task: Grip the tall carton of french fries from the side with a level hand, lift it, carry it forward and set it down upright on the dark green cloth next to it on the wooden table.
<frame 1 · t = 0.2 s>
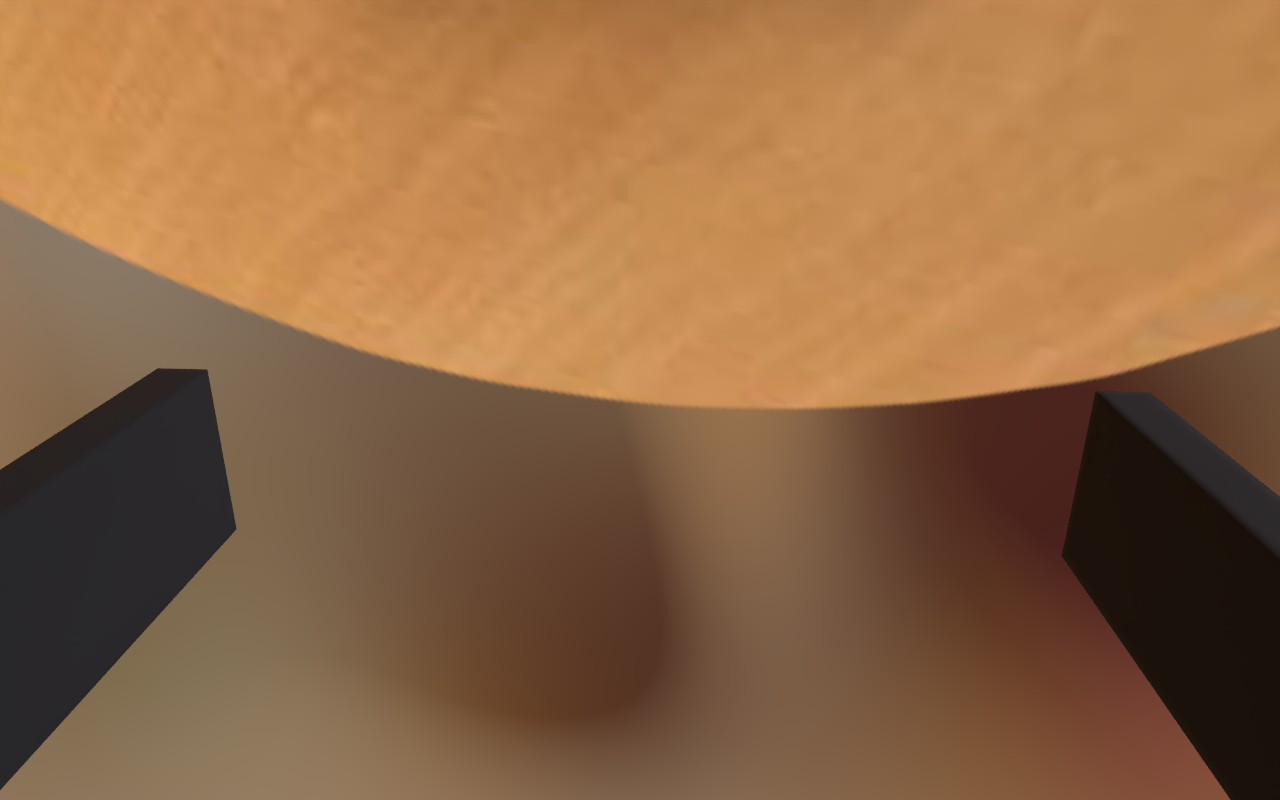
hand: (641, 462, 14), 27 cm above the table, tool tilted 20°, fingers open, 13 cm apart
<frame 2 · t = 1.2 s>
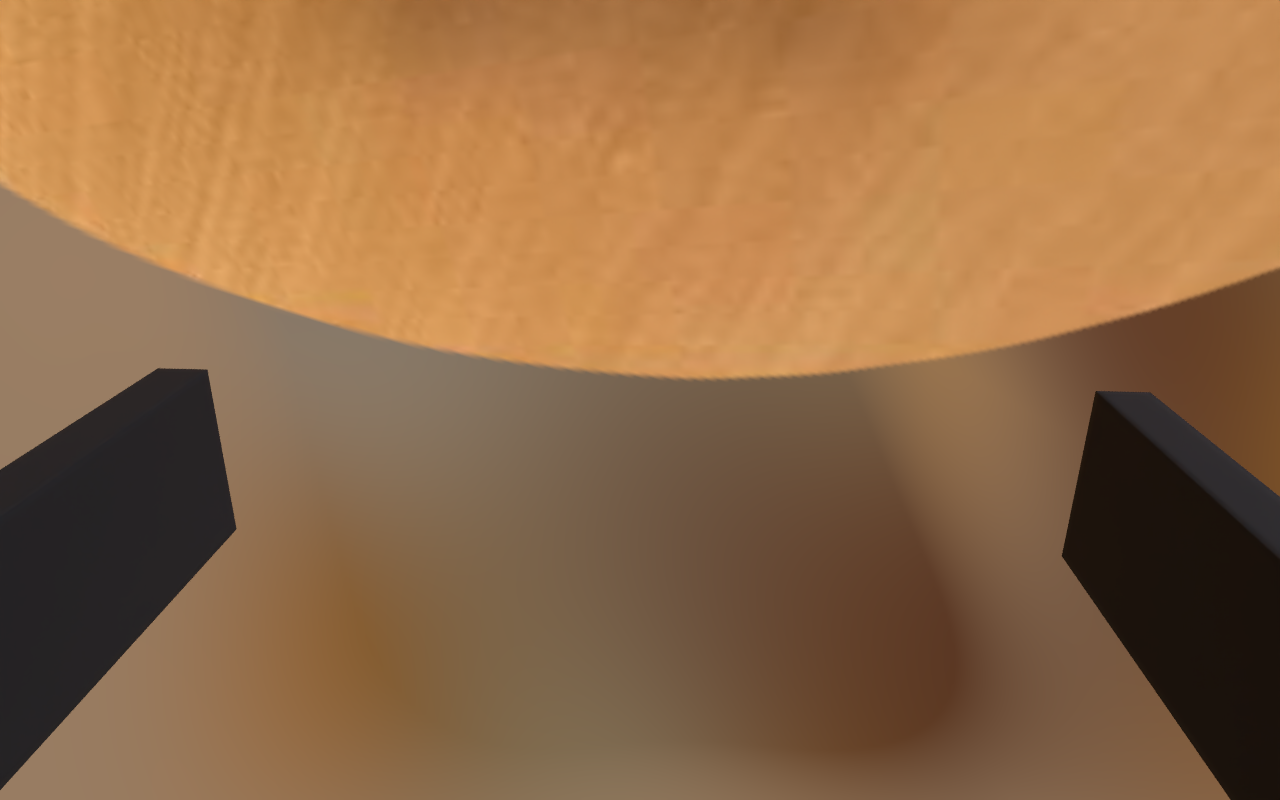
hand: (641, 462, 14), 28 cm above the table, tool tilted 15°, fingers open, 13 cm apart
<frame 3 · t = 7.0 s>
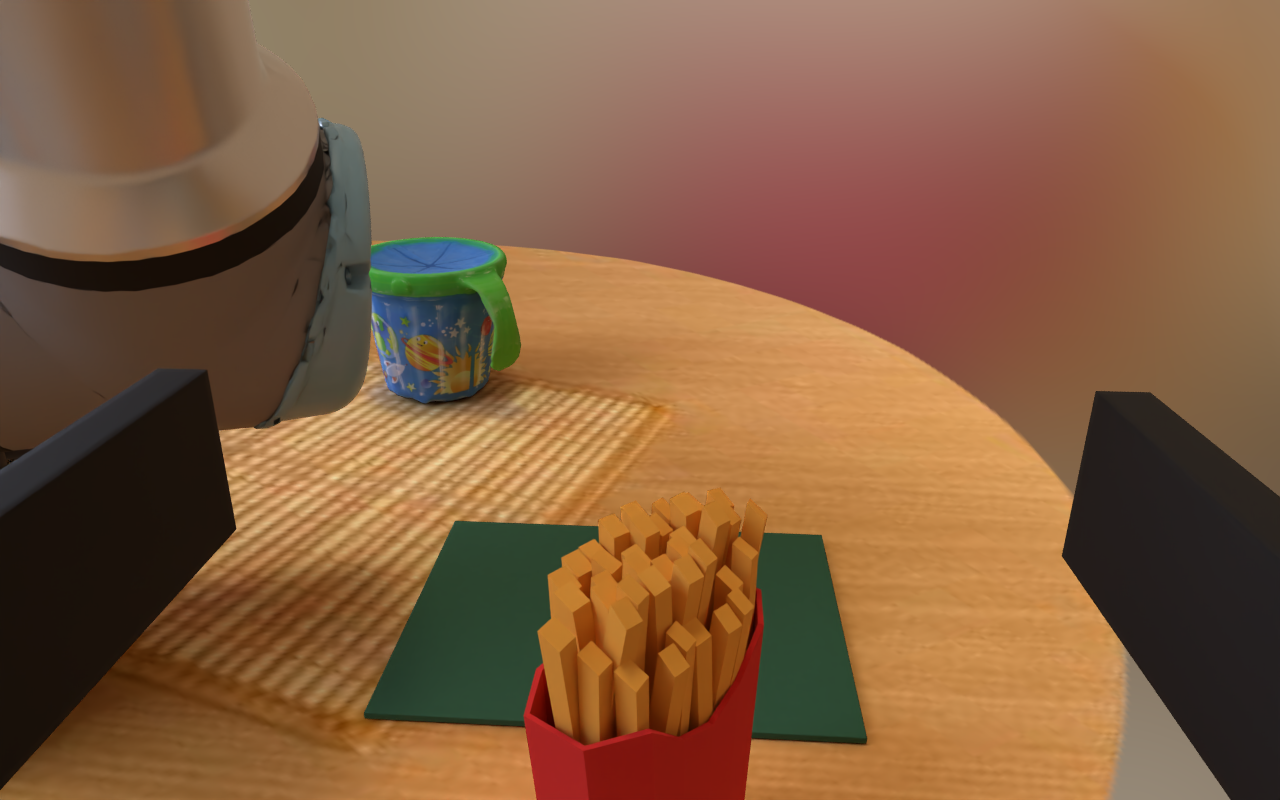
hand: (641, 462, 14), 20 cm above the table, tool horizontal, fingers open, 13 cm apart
green cloth: (626, 616, 44), on the table
snack cup: (440, 389, 69), on the table
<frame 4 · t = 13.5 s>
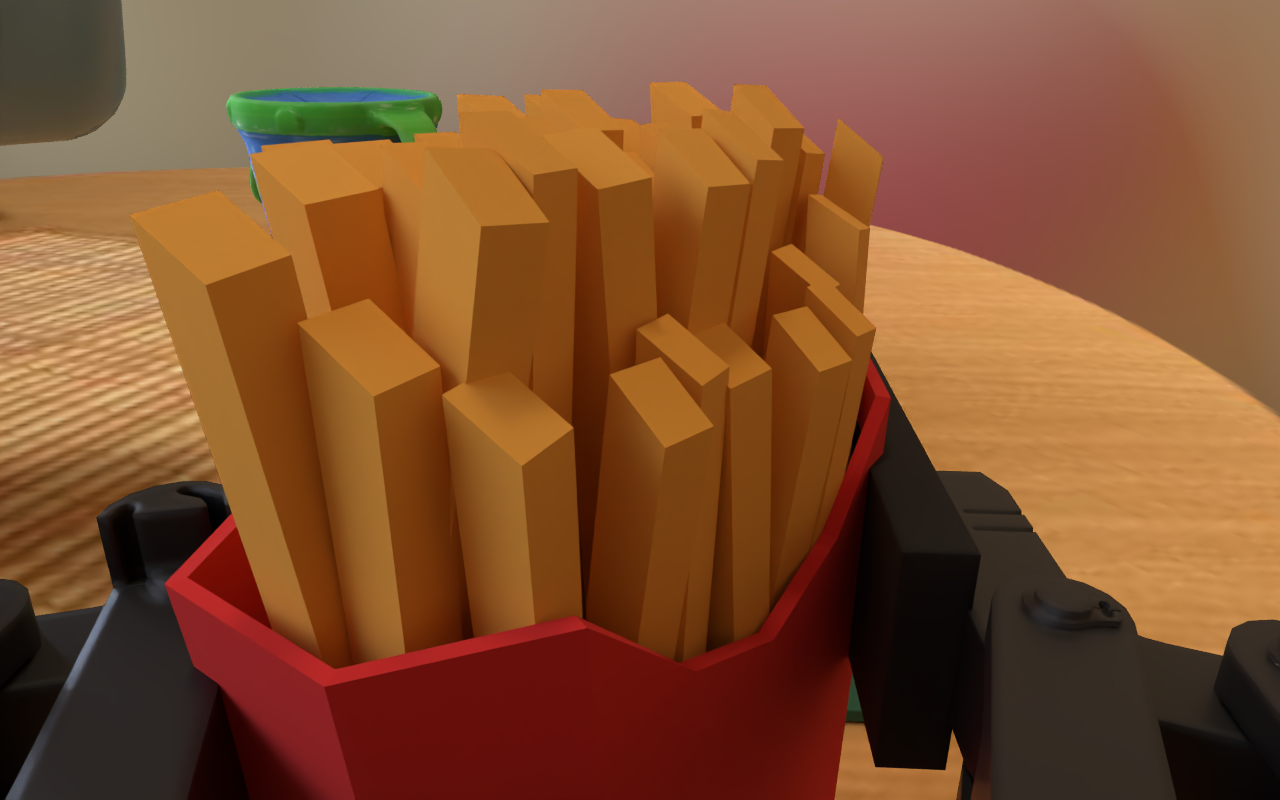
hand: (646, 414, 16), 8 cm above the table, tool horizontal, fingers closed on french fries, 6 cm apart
green cloth: (587, 532, 27), on the table
snack cup: (357, 284, 53), on the table
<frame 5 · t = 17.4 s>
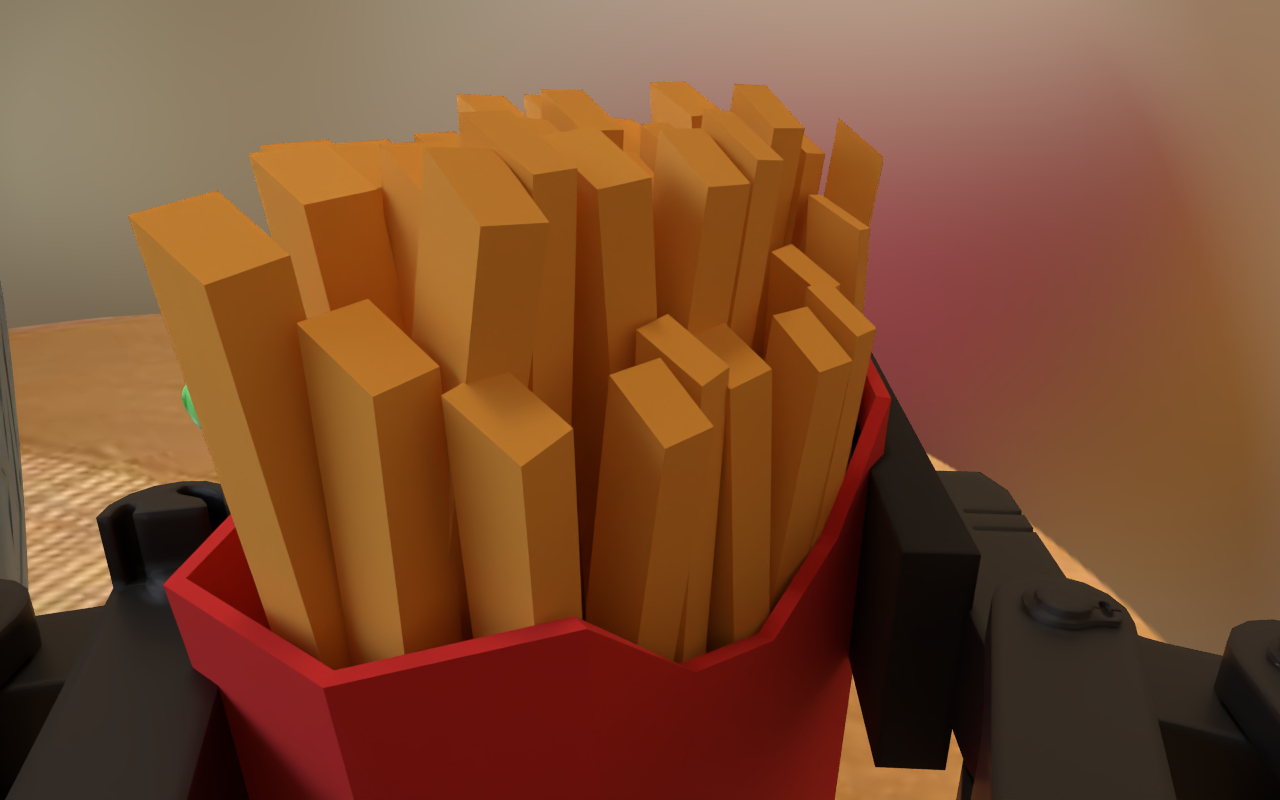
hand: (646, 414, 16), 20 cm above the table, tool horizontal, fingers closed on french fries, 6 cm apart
when the fingers open (8 cm above the table, at t = 21.7 s): french fries stays where it is, resting on green cloth.
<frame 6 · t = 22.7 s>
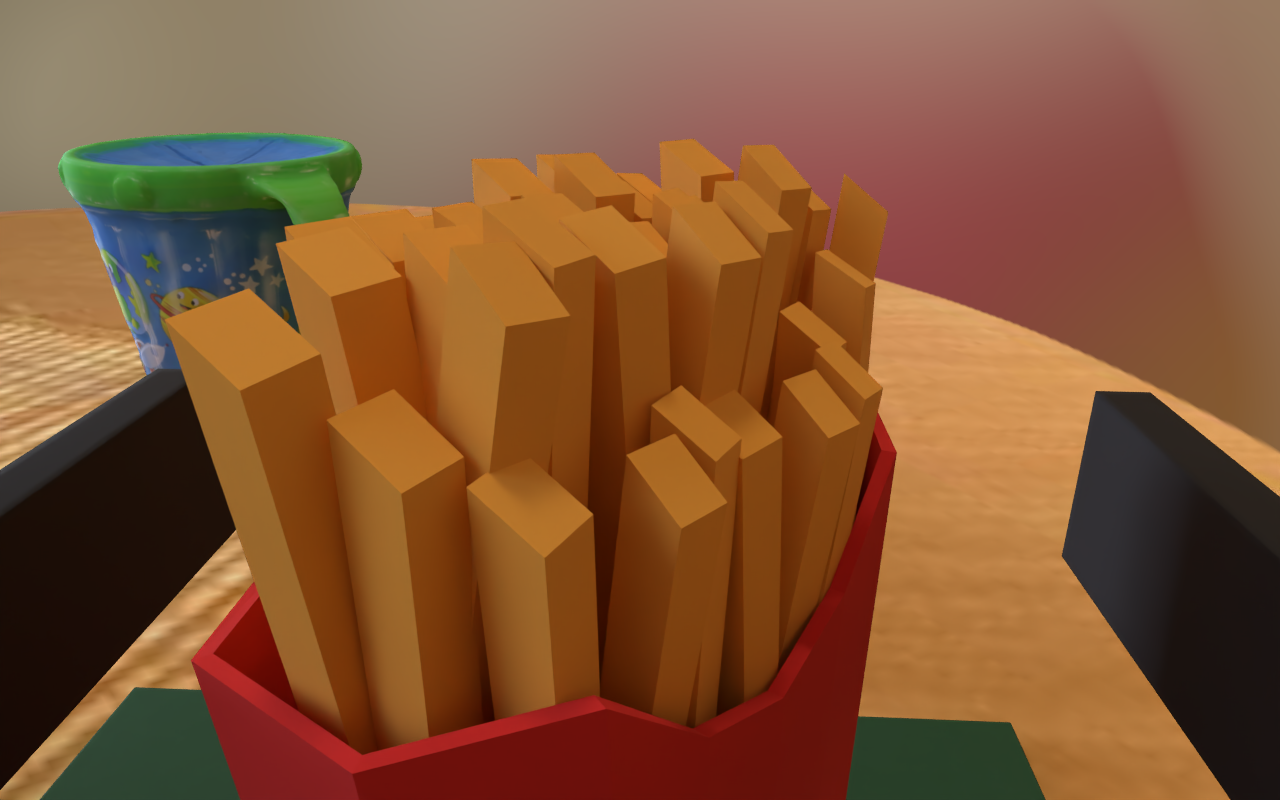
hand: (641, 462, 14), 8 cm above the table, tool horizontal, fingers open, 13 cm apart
snack cup: (254, 392, 40), on the table
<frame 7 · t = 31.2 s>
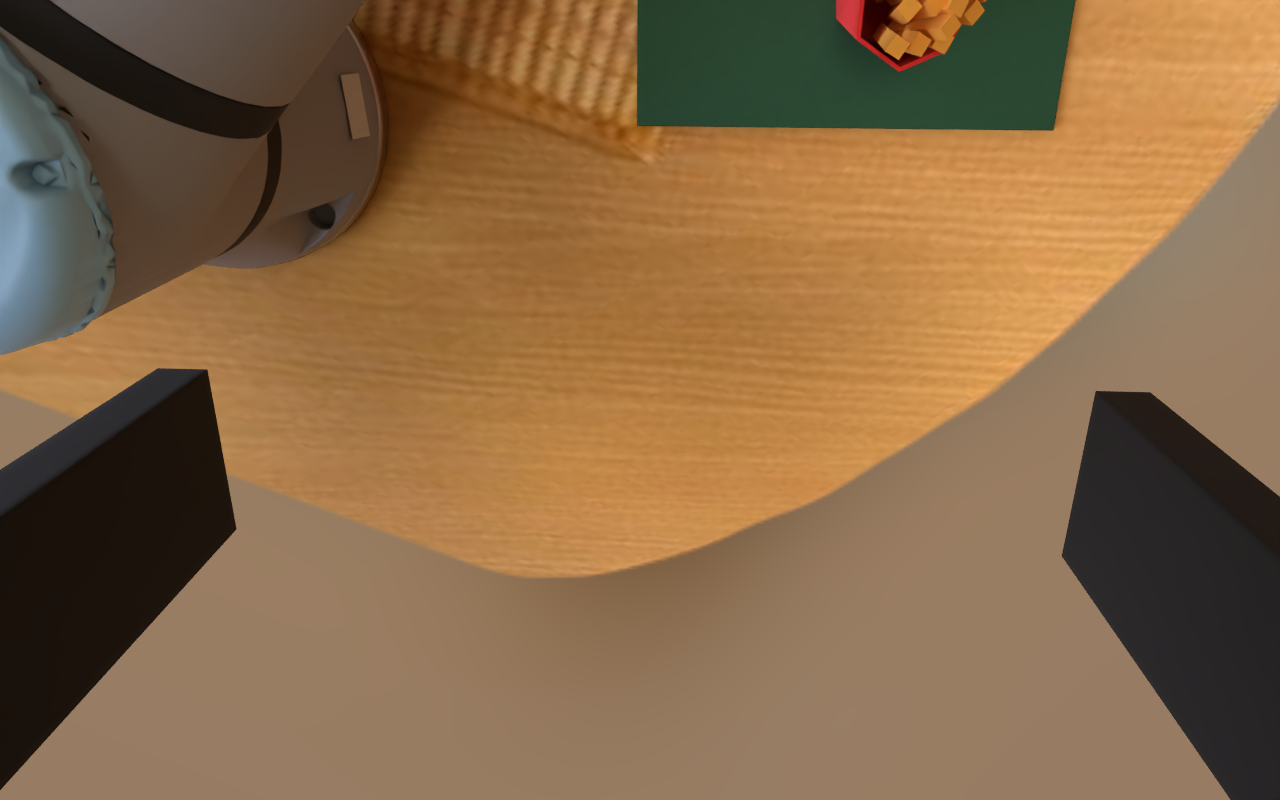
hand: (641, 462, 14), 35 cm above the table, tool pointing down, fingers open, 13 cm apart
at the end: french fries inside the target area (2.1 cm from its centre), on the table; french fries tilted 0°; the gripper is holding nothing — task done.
